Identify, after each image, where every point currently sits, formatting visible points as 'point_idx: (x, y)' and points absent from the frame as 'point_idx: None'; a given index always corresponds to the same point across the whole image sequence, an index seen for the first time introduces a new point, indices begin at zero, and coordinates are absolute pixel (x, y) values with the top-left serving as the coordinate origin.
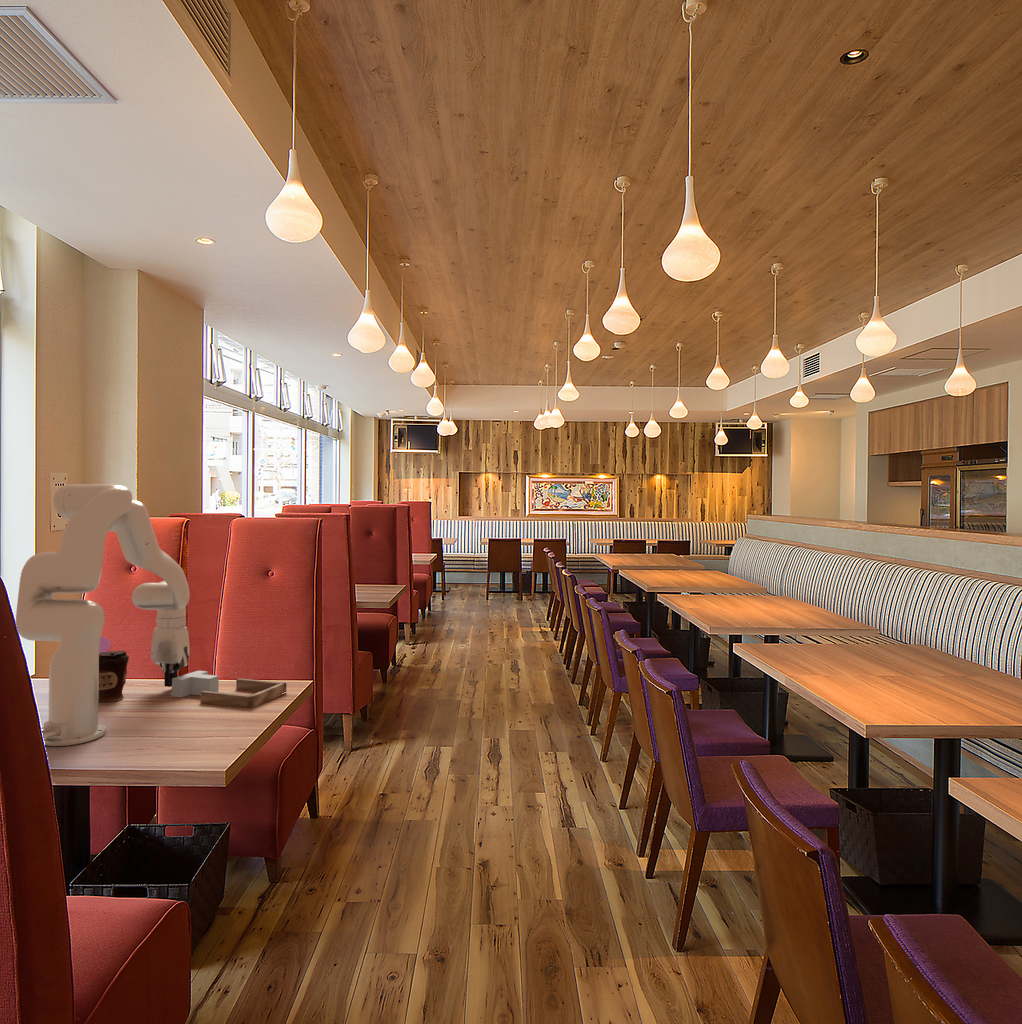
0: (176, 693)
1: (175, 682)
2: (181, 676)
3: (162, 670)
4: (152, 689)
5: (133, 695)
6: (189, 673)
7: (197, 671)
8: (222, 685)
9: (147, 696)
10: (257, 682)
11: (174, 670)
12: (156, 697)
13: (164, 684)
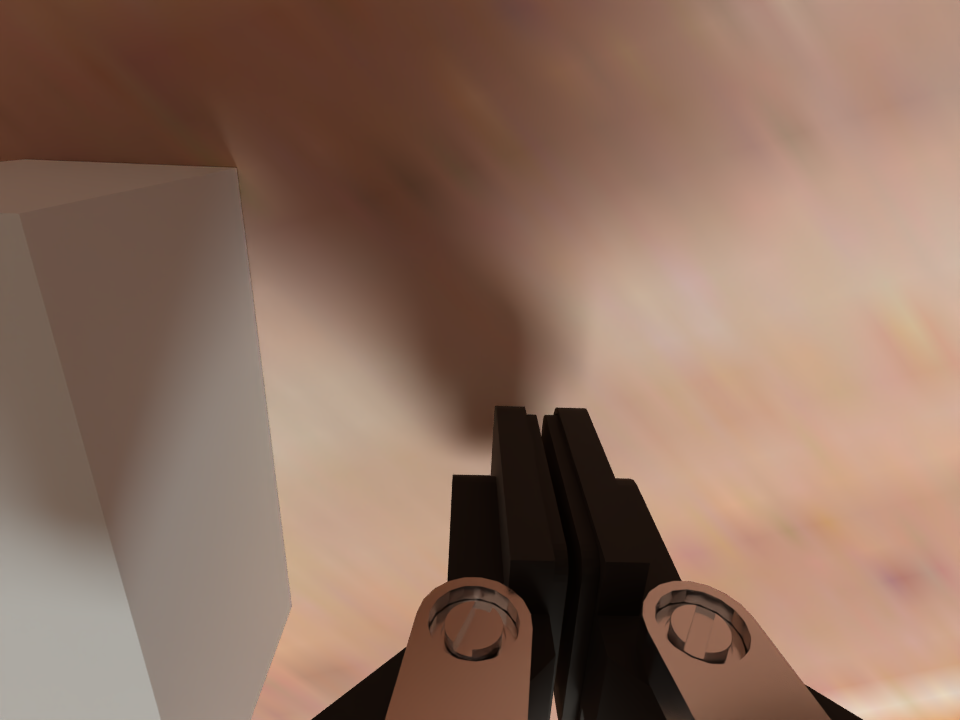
0: (104, 165)
1: None
2: (31, 476)
3: (756, 624)
4: (796, 395)
5: (908, 20)
6: (138, 700)
7: None
8: None
9: (623, 37)
10: None
11: (393, 672)
12: (424, 27)
13: (588, 417)
